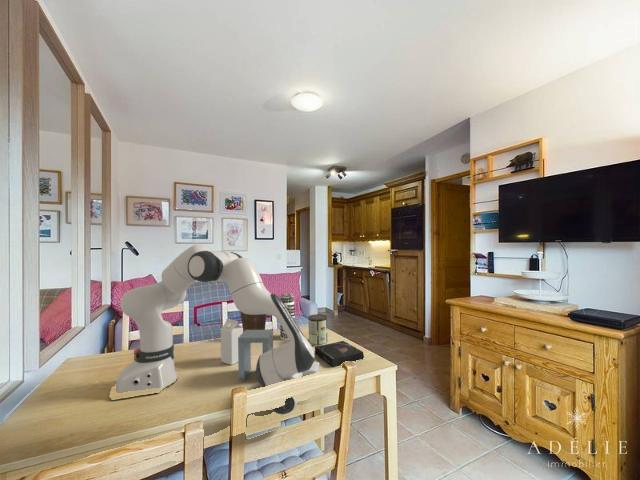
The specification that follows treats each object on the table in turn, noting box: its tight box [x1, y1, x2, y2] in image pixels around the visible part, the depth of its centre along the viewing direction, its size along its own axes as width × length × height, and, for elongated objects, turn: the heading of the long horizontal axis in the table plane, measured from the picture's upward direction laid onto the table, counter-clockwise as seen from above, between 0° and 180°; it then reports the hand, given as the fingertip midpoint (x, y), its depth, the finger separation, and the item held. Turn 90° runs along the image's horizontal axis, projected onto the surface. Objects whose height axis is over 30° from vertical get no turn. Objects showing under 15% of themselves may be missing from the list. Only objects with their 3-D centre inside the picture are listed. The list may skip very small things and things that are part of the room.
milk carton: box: [220, 318, 243, 366], centre depth 131 cm, size 7×7×19 cm
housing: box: [237, 329, 274, 381], centre depth 118 cm, size 10×12×17 cm
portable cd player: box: [314, 340, 365, 368], centre depth 135 cm, size 16×17×4 cm
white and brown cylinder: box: [279, 292, 296, 341], centre depth 162 cm, size 9×9×25 cm
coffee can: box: [308, 313, 329, 347], centre depth 153 cm, size 10×10×14 cm
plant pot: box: [239, 311, 268, 332], centre depth 165 cm, size 16×16×16 cm
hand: (294, 360), depth 112 cm, fingers open, 8 cm apart
